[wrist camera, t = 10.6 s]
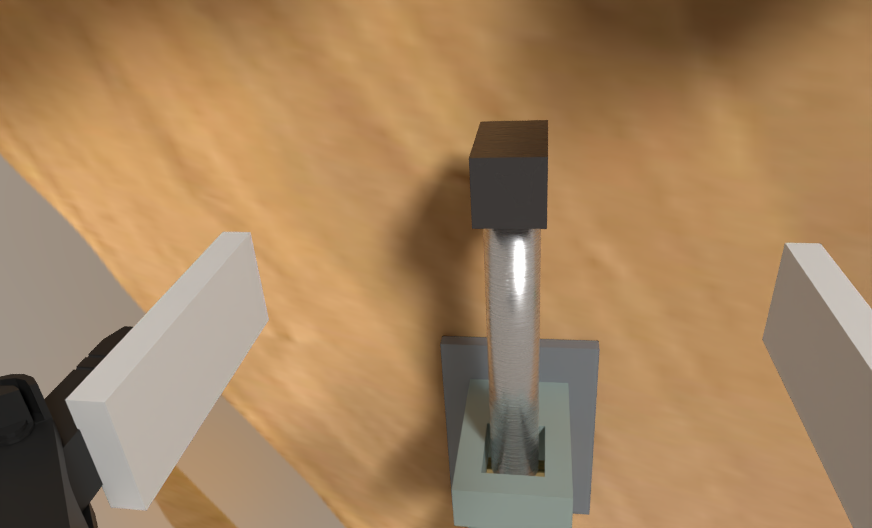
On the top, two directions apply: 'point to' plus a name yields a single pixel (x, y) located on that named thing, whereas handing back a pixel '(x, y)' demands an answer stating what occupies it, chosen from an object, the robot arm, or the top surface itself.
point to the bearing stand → (558, 437)
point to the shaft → (512, 280)
